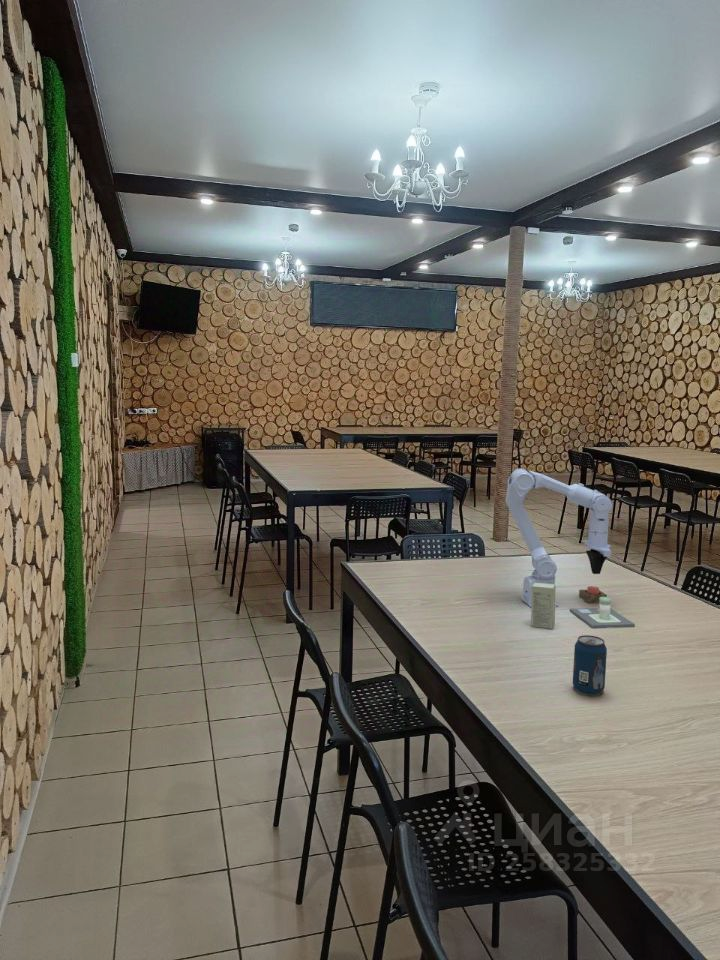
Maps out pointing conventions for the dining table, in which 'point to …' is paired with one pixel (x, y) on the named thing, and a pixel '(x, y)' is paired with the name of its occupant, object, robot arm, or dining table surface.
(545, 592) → the skincare box
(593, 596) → the button box
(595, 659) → the soda can
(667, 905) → the dining table surface
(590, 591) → the button
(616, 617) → the picture board
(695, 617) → the dining table surface
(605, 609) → the pale green cylinder
